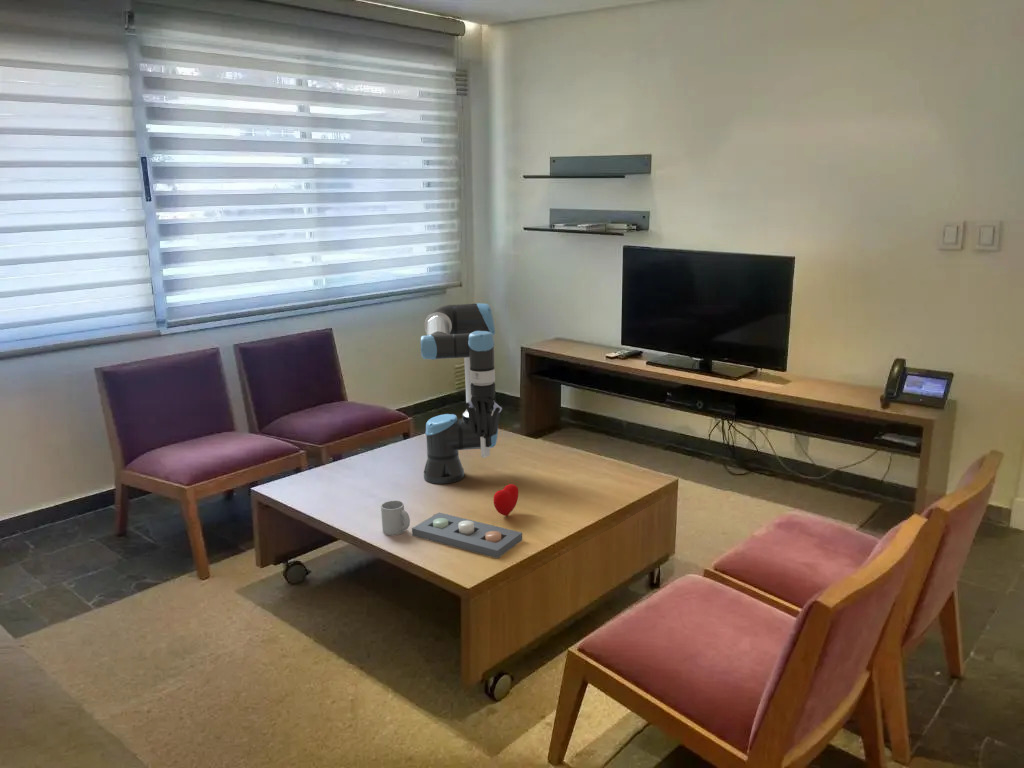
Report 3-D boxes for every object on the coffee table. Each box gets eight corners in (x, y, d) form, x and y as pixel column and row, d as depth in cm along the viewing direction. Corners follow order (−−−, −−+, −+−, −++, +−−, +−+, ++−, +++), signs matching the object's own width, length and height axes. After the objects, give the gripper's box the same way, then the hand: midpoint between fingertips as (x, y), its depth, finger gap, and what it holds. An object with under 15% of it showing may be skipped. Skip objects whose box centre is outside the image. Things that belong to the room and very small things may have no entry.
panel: (412, 535, 250) (411, 528, 249) (439, 519, 261) (438, 512, 261) (497, 558, 233) (497, 550, 233) (522, 540, 245) (522, 532, 244)
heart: (504, 524, 256) (503, 495, 254) (490, 520, 259) (489, 492, 257) (522, 511, 266) (522, 483, 263) (509, 508, 269) (508, 480, 266)
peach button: (482, 544, 241) (482, 535, 240) (491, 538, 245) (491, 529, 244) (495, 548, 239) (495, 539, 238) (504, 542, 243) (504, 533, 242)
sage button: (430, 531, 252) (429, 522, 251) (439, 525, 256) (439, 517, 255) (442, 534, 249) (442, 525, 248) (451, 528, 253) (451, 519, 252)
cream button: (455, 533, 246) (455, 525, 245) (464, 528, 250) (464, 519, 249) (468, 537, 244) (468, 528, 243) (477, 531, 248) (476, 522, 247)
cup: (392, 524, 258) (390, 498, 256) (417, 530, 253) (415, 504, 251) (378, 533, 252) (376, 506, 250) (402, 539, 247) (401, 512, 245)
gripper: (458, 383, 242) (461, 456, 248) (493, 387, 235) (496, 463, 241) (472, 377, 248) (475, 449, 254) (507, 382, 241) (509, 455, 247)
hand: (485, 455), depth 247 cm, fingers closed
